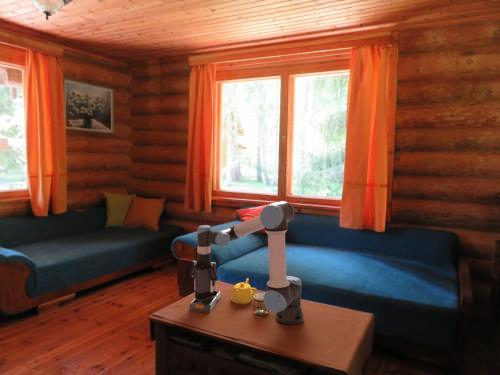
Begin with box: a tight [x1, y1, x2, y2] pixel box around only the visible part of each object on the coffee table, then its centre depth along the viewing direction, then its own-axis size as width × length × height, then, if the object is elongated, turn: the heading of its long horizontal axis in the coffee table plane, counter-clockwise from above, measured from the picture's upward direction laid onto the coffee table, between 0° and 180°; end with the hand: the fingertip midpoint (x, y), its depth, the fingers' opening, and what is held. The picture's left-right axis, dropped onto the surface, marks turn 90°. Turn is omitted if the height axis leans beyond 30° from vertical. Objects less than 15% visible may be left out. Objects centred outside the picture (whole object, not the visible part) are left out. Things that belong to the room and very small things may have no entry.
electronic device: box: [194, 263, 213, 301], centre depth 210 cm, size 9×6×20 cm, turn 130°
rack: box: [189, 280, 222, 314], centre depth 215 cm, size 12×23×11 cm, turn 169°
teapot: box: [230, 277, 257, 305], centre depth 221 cm, size 22×16×11 cm
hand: (203, 290), depth 211 cm, fingers closed on electronic device, 9 cm apart
